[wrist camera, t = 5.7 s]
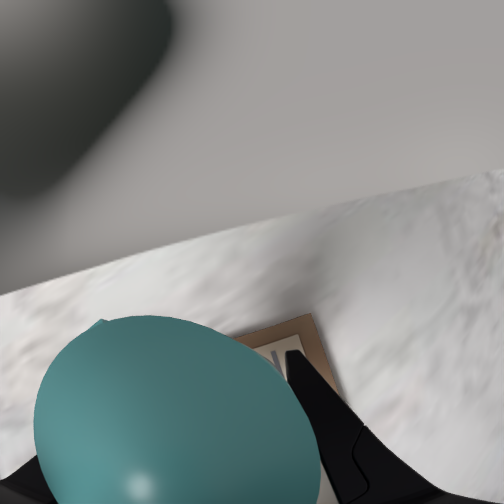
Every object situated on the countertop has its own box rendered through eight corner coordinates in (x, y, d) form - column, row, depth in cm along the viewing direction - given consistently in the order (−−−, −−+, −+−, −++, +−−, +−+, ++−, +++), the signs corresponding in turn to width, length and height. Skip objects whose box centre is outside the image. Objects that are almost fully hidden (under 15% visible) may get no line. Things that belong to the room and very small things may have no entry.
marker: (303, 395, 14) (384, 490, 3) (236, 445, 13) (152, 600, 2) (246, 328, 15) (171, 238, 4) (182, 377, 15) (-5, 391, 4)
